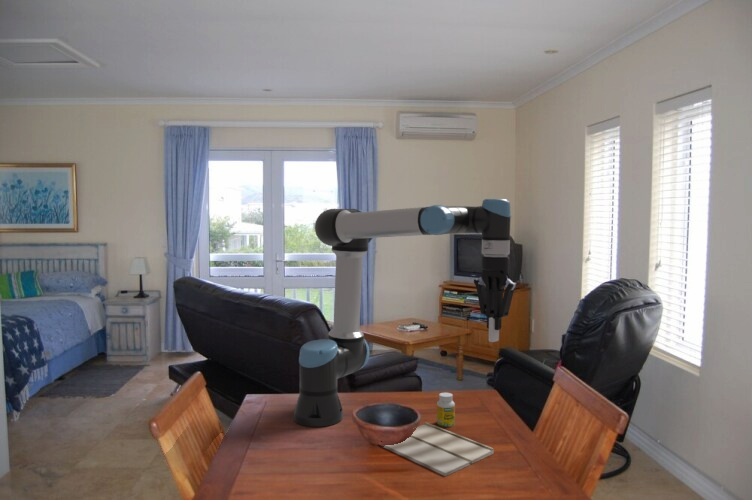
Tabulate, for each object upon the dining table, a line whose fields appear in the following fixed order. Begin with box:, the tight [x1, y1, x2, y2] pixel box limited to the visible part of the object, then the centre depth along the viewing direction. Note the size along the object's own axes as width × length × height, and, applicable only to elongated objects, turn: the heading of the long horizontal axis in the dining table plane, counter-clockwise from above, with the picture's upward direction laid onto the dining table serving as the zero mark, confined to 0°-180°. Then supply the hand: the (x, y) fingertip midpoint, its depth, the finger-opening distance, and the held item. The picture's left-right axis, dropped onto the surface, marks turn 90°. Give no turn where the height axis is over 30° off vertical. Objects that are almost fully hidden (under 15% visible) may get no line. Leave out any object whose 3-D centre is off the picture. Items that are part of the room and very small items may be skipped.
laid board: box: [383, 437, 472, 477], centre depth 144 cm, size 24×10×2 cm, turn 42°
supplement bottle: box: [436, 392, 456, 428], centre depth 164 cm, size 5×5×10 cm
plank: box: [411, 421, 495, 465], centre depth 150 cm, size 24×9×2 cm, turn 42°
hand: (493, 340), depth 152 cm, fingers closed
